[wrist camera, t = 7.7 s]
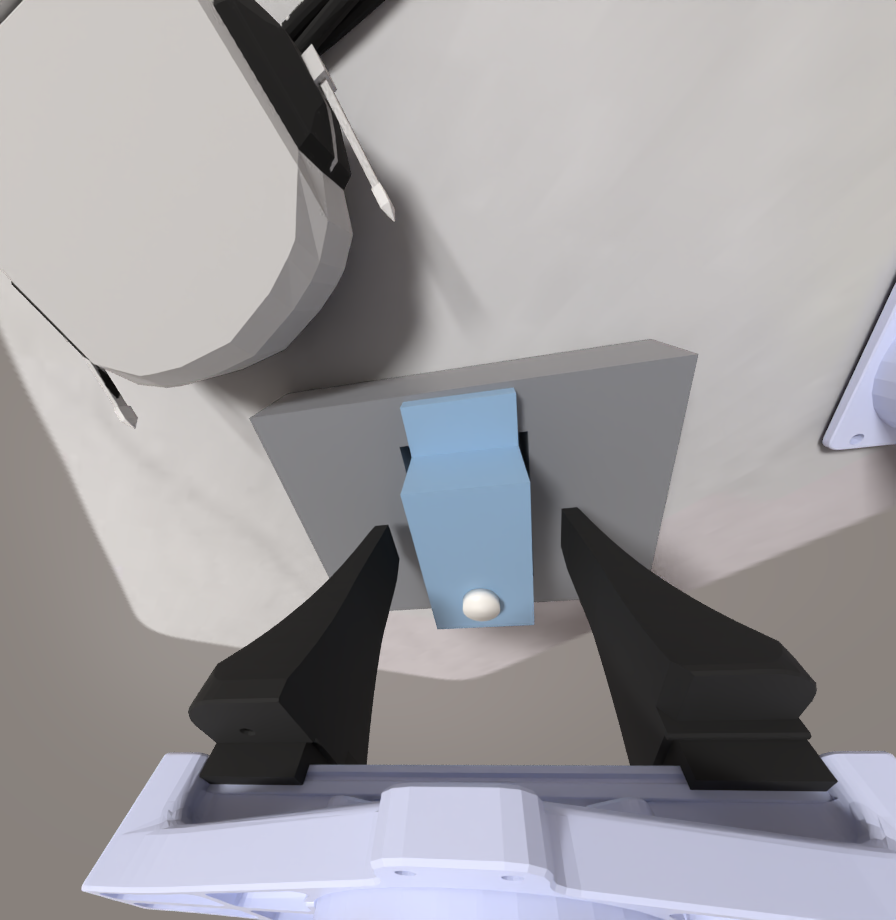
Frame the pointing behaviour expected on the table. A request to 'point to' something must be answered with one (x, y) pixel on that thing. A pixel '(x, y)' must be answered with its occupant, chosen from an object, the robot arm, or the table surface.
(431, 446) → the block
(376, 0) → the electrical cable
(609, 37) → the table surface
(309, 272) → the robot toy
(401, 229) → the table surface
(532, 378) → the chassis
